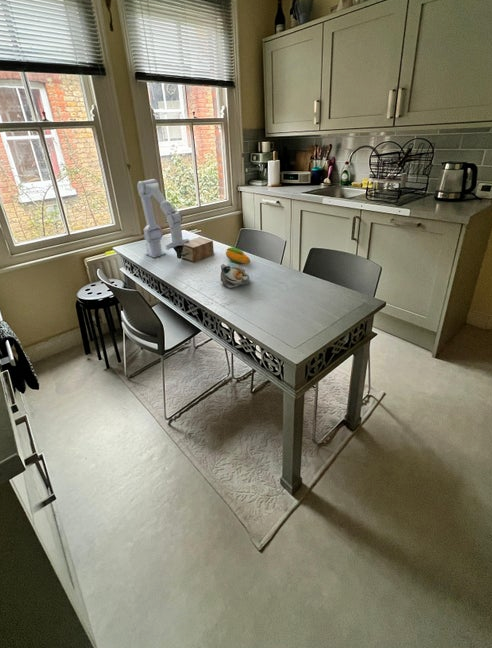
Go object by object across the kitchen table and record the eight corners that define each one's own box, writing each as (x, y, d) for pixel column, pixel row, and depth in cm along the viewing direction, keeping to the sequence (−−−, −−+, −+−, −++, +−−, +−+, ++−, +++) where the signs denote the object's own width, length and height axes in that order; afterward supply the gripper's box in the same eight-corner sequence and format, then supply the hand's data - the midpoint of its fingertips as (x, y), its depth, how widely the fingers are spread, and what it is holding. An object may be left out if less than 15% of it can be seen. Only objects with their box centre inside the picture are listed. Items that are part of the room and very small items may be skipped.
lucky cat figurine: (254, 279, 152) (256, 261, 141) (242, 298, 146) (243, 280, 135) (227, 267, 157) (227, 248, 145) (214, 284, 150) (213, 266, 139)
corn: (232, 243, 180) (255, 251, 165) (233, 255, 184) (256, 264, 169) (221, 246, 176) (244, 256, 162) (223, 259, 180) (245, 269, 165)
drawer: (186, 263, 173) (185, 251, 171) (175, 259, 180) (173, 247, 177) (210, 254, 185) (209, 243, 182) (198, 250, 192) (197, 239, 189)
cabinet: (194, 262, 177) (193, 247, 173) (182, 257, 184) (180, 243, 181) (214, 254, 186) (212, 240, 183) (201, 250, 194) (199, 237, 190)
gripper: (169, 239, 163) (173, 263, 168) (191, 232, 172) (194, 255, 178) (162, 237, 167) (165, 260, 173) (183, 230, 177) (186, 253, 182)
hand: (179, 258), depth 176 cm, fingers closed, pressing on drawer
